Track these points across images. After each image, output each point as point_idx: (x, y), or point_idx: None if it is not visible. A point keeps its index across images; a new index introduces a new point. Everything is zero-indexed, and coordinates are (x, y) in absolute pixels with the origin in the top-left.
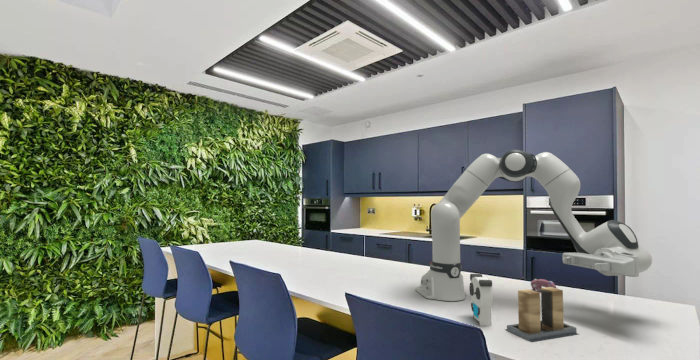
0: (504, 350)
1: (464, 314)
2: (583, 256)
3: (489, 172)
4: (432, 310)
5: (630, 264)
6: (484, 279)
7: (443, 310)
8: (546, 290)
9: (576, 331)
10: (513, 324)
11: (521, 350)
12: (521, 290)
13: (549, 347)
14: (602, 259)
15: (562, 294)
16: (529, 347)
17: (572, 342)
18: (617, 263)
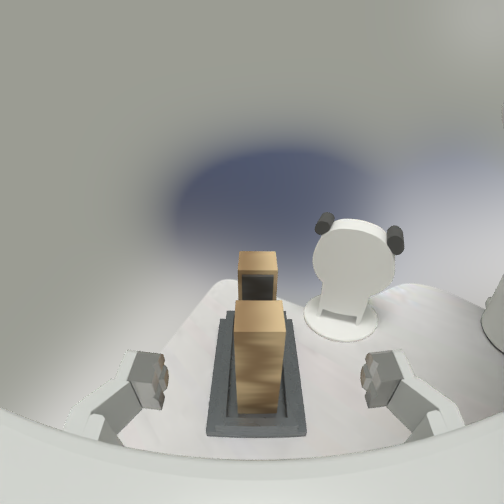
0: (227, 287)
1: (403, 318)
2: (351, 456)
3: None
4: (421, 287)
5: None
6: (344, 224)
7: (424, 299)
8: (259, 303)
9: (215, 429)
10: (286, 323)
11: (215, 303)
12: (271, 255)
13: (202, 342)
14: (121, 448)
15: (234, 341)
16: (218, 318)
17: (196, 397)
18: (15, 415)
